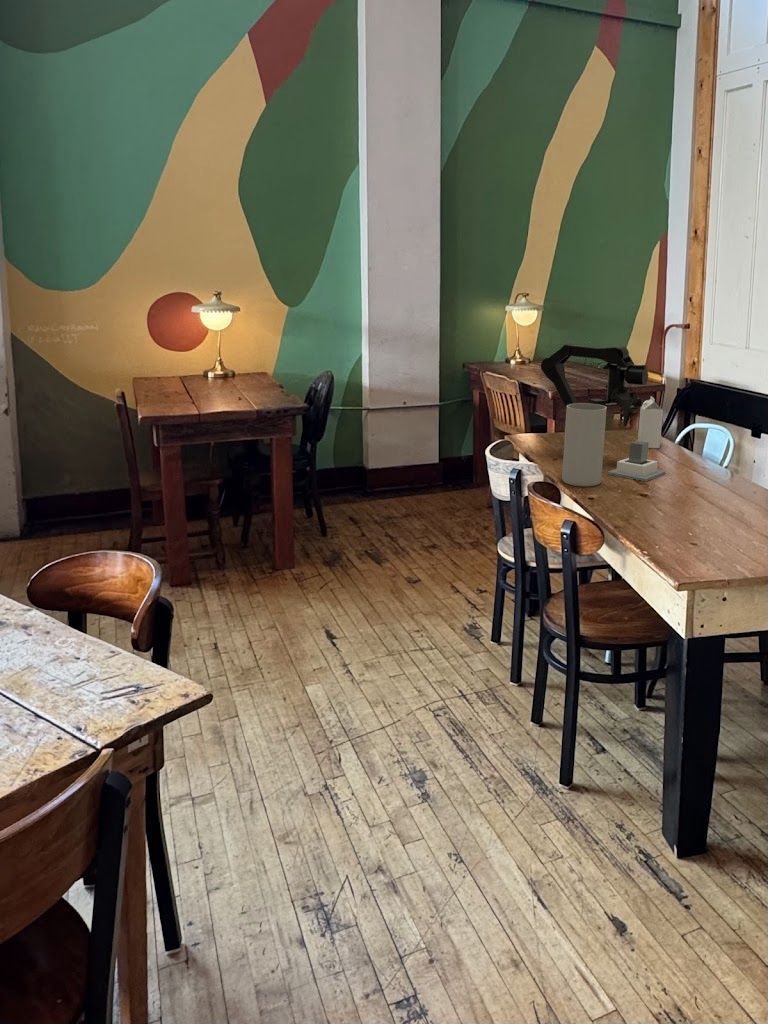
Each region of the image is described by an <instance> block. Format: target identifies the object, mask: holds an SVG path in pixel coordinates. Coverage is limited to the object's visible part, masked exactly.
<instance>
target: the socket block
mask: <svg viewBox="0 0 768 1024" xmlns="http://www.w3.org/2000/svg"><path fill="white" fill-rule="evenodd" d="M658 463H659V461H657V460H653V459H647V463H646V464H643V465H640V464H634V463H629V457H627V458H624V459H620V460H618V461H616V468H615V469H611V470H609V471H607V475H609V476H612V475H613V477H618V476H619V477H618V478H623V477H625V478H624V479H628V478H630V479H629V480H633V479H636V480H635V481H638V480H641V481H640V482H643V481H647V482H649V481H652V480H654V479H657V478H659V476H660V477H662V476H665V475H666V471H665V470H661V469H658ZM664 474H665V475H664ZM651 479H652V480H651ZM648 480H649V481H648Z"/></svg>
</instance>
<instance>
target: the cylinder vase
mask: <svg viewBox="0 0 768 1024" xmlns="http://www.w3.org/2000/svg"><path fill="white" fill-rule="evenodd" d="M607 408H608V406H603V405H598V404H588V403H586V402H585V403H581V402H579V403H577V404H569V405H567V408H565V412H566V413H565V414H566V415H565V427H564V440H563V441H564V442H563V443H564V444H563V456H562V457H563V458H562V459H563V460H562V474H561V475H562V476H561V478H562V479H561V481H562V482H563V483H565V484H566V485H569V486H575V487H582V488H583V487H596V486H598V485H600V484H601V482H602V474H603V460H604V450H605V449H604V446H605V445H604V444H605V434H606V421H607Z"/></svg>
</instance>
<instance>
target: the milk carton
mask: <svg viewBox="0 0 768 1024" xmlns="http://www.w3.org/2000/svg"><path fill="white" fill-rule="evenodd" d="M655 400H656V399H655V398H654V397H653V396H652V395H651V396H650V398H649V399H647V400H645V401H644V402H643V403H642V407H639V409H640V410H639V421H638V431H637V432H638V434H637V441H641V442H648V443H649V445H648V449H660V446H661V444H660V443H661V435H662V434H661V433H662V425H663V424H662V423H663V414H664V413H663V412H664V409H662V408H661V407H660V405H658V404H657V403H656V401H655Z"/></svg>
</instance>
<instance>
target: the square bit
mask: <svg viewBox="0 0 768 1024" xmlns="http://www.w3.org/2000/svg"><path fill="white" fill-rule="evenodd" d="M648 445H649V443H648V442H641V441H638V440H635V441H631V442H629V452H628V453H629V454H628V455H629V456H628V458H629V463H634V464H640V465H643V464H646V463H647V460H648V456H649V455H648V453H649V448H648Z"/></svg>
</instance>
